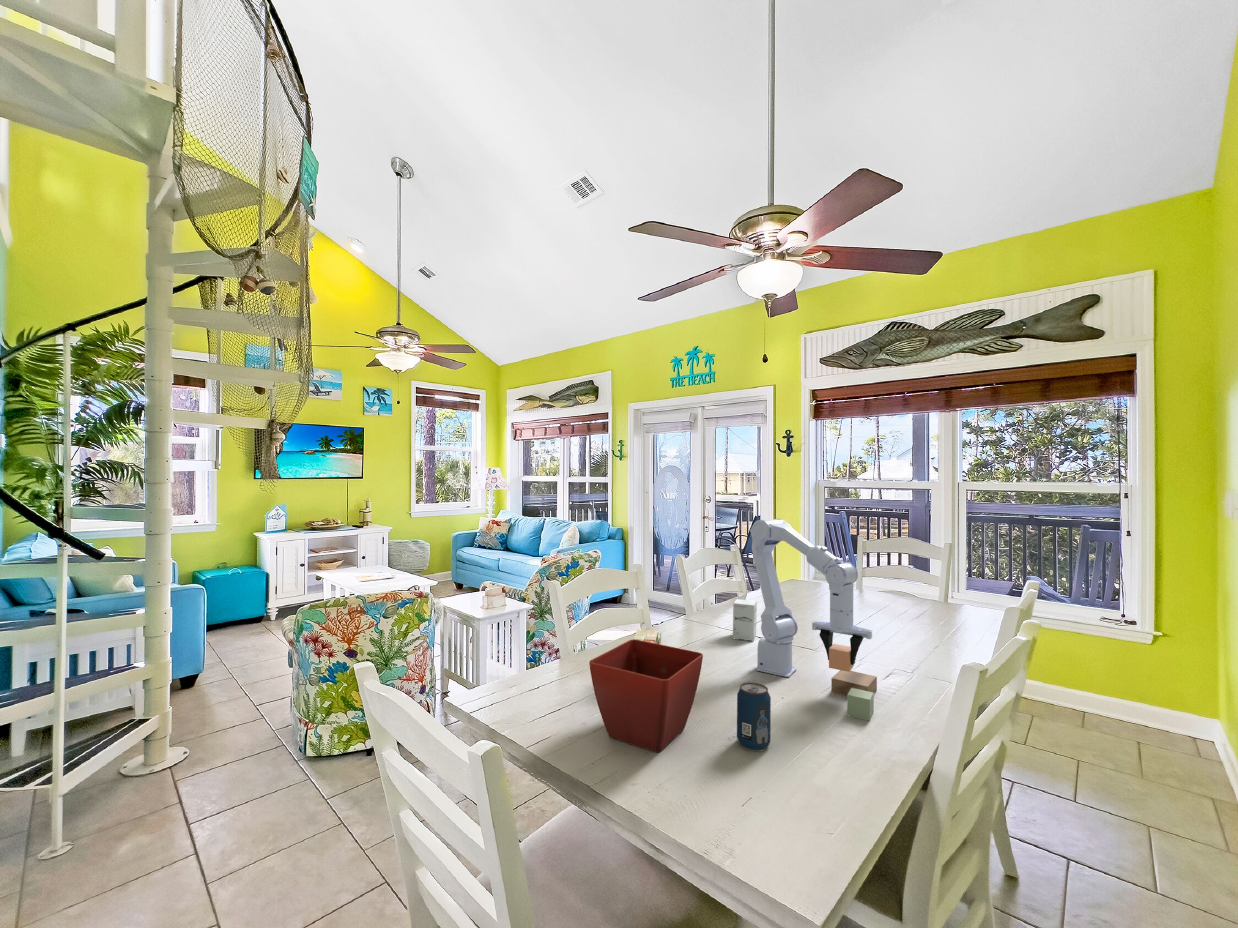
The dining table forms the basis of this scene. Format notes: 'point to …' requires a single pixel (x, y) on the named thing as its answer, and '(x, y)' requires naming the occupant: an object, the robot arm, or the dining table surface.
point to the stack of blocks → (648, 636)
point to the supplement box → (744, 619)
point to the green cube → (860, 704)
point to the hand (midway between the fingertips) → (841, 661)
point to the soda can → (753, 716)
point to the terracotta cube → (840, 657)
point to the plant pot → (645, 691)
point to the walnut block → (852, 682)
